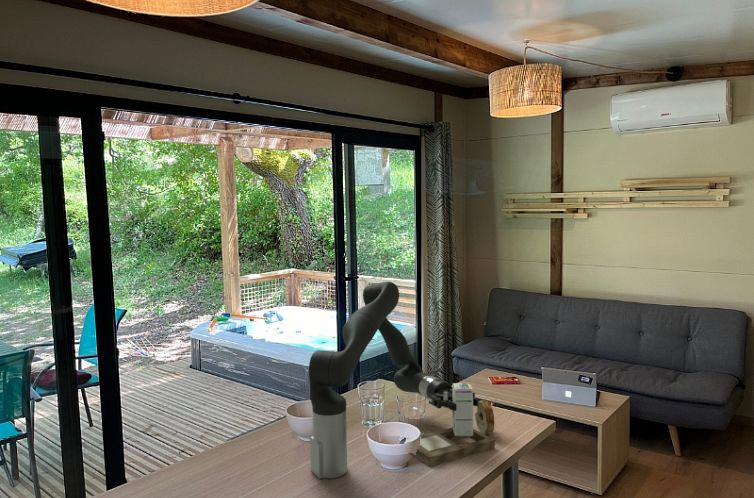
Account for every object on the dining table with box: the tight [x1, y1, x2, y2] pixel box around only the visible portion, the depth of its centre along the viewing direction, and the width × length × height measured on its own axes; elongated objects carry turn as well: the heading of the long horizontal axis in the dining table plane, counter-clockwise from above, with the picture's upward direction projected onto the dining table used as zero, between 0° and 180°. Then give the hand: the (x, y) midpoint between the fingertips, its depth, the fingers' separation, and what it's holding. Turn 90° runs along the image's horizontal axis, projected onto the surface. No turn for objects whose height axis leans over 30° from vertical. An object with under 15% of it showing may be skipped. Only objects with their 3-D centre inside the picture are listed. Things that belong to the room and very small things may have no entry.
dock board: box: [414, 427, 496, 467], centre depth 169 cm, size 24×14×3 cm, turn 119°
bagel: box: [474, 399, 495, 435], centre depth 181 cm, size 10×4×10 cm, turn 9°
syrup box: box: [452, 382, 474, 437], centre depth 171 cm, size 6×6×14 cm
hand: (466, 405), depth 169 cm, fingers closed on syrup box, 7 cm apart
